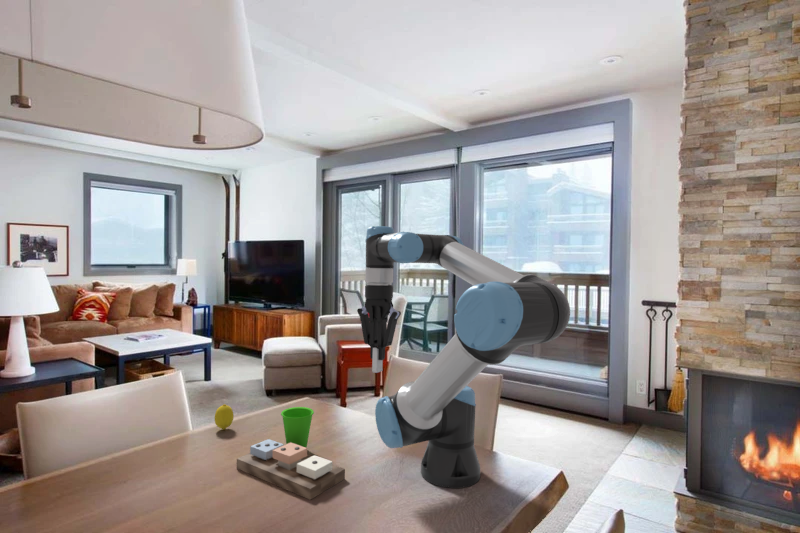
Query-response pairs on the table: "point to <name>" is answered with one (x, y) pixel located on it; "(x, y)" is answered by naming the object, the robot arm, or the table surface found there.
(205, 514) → the table surface
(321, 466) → the tile one
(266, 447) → the tile three
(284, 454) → the tile two
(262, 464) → the board
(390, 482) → the table surface
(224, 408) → the lemon
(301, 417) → the cup
